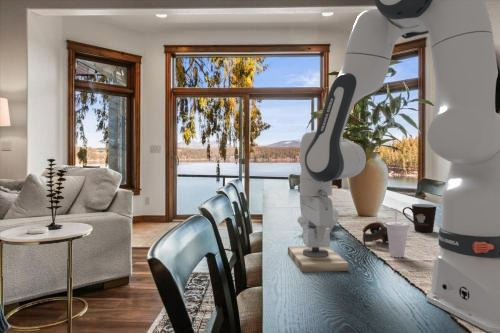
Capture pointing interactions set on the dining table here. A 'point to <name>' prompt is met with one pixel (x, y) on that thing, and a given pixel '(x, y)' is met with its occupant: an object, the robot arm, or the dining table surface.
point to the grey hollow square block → (310, 237)
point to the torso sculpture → (303, 220)
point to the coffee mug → (423, 217)
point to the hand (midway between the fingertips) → (315, 238)
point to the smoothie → (397, 237)
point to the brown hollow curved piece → (375, 232)
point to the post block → (317, 259)
